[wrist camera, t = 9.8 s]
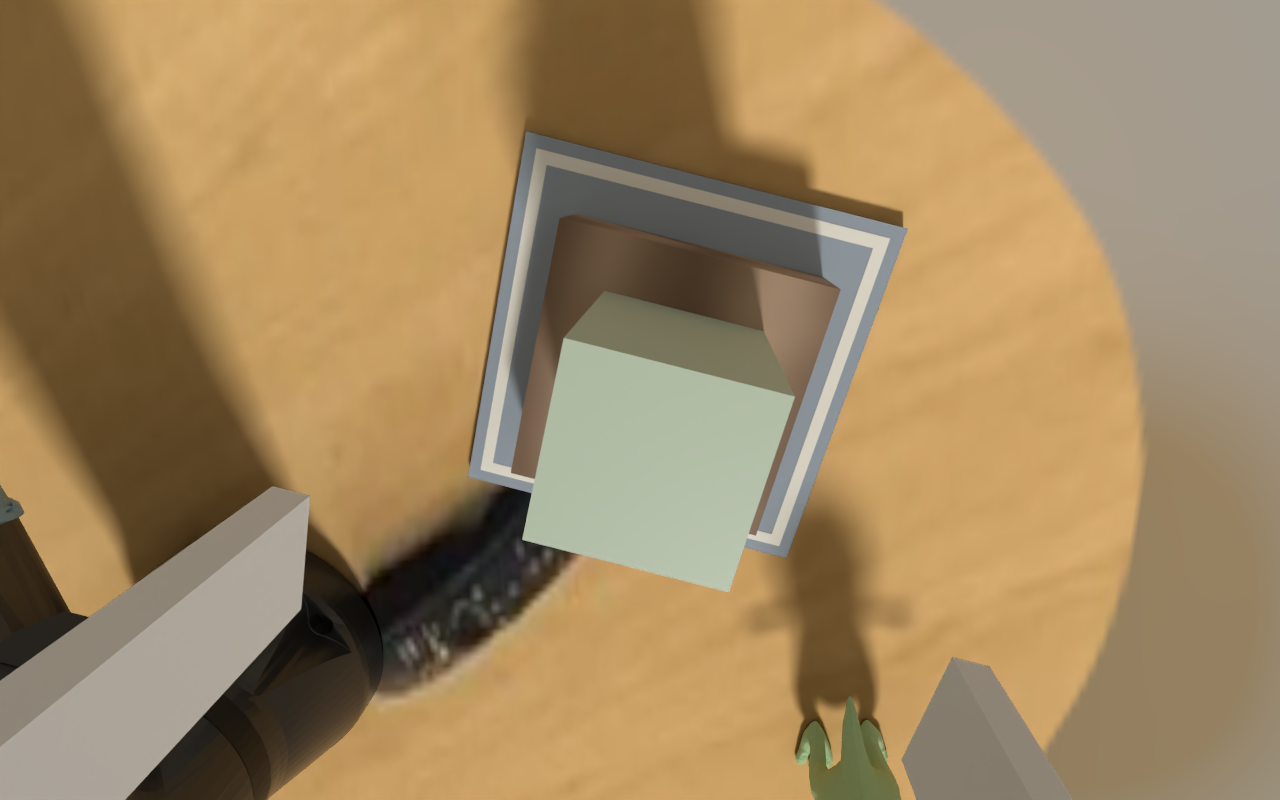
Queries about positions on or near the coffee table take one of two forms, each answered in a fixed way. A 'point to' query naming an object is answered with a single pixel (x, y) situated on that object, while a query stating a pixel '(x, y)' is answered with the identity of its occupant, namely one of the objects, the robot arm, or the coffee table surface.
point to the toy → (848, 762)
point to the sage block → (658, 440)
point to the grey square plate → (698, 215)
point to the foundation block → (678, 280)
